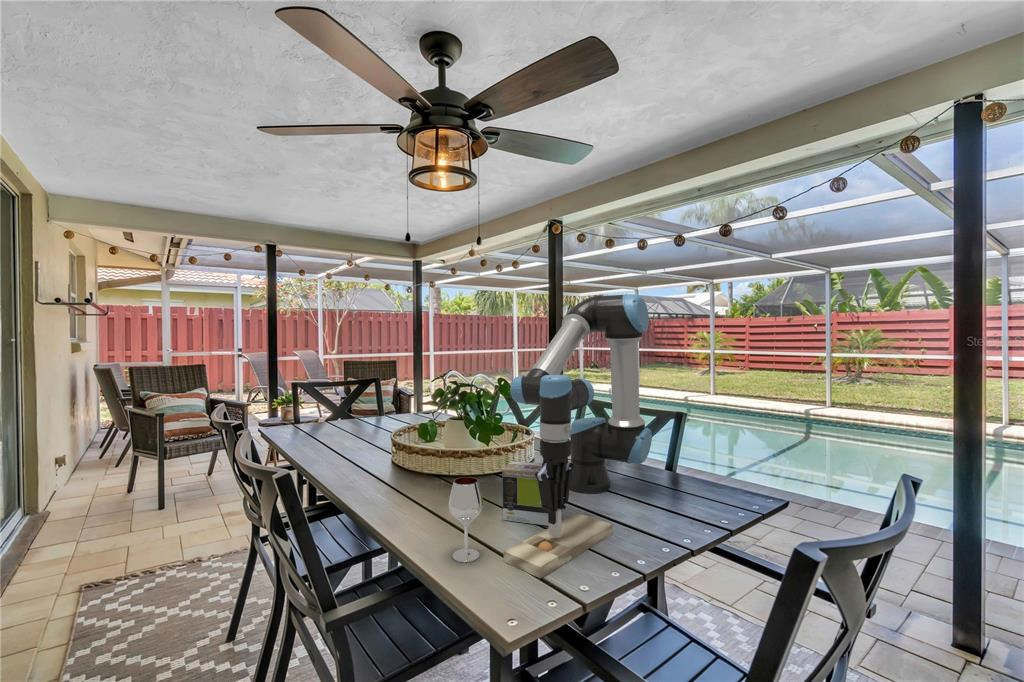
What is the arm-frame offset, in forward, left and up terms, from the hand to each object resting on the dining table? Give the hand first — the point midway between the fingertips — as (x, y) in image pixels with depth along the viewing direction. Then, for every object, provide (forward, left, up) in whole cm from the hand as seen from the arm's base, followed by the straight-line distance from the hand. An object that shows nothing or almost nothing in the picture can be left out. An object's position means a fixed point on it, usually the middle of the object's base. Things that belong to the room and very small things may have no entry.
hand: (555, 535), depth 115 cm
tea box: (-17, +12, -4) cm, 21 cm away
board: (0, +3, -4) cm, 4 cm away
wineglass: (-14, -16, -4) cm, 22 cm away
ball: (0, -4, -2) cm, 5 cm away
